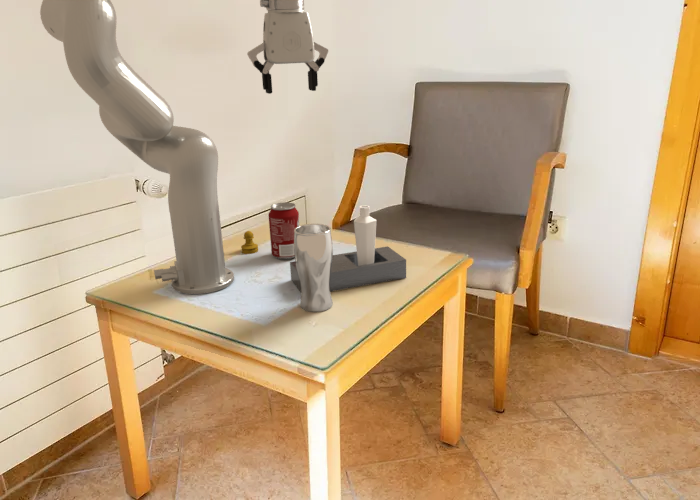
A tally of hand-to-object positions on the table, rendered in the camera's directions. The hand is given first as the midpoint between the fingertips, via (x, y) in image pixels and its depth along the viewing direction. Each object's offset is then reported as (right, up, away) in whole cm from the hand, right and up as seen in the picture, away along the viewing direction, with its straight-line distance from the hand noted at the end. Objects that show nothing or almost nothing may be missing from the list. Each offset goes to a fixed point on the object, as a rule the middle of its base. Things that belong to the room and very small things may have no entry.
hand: (290, 91), depth 128 cm
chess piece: (-11, -35, +13) cm, 39 cm away
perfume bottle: (+16, -40, -4) cm, 43 cm away
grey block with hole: (+12, -40, -5) cm, 42 cm away
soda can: (-2, -36, +9) cm, 37 cm away
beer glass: (+6, -45, -16) cm, 48 cm away
